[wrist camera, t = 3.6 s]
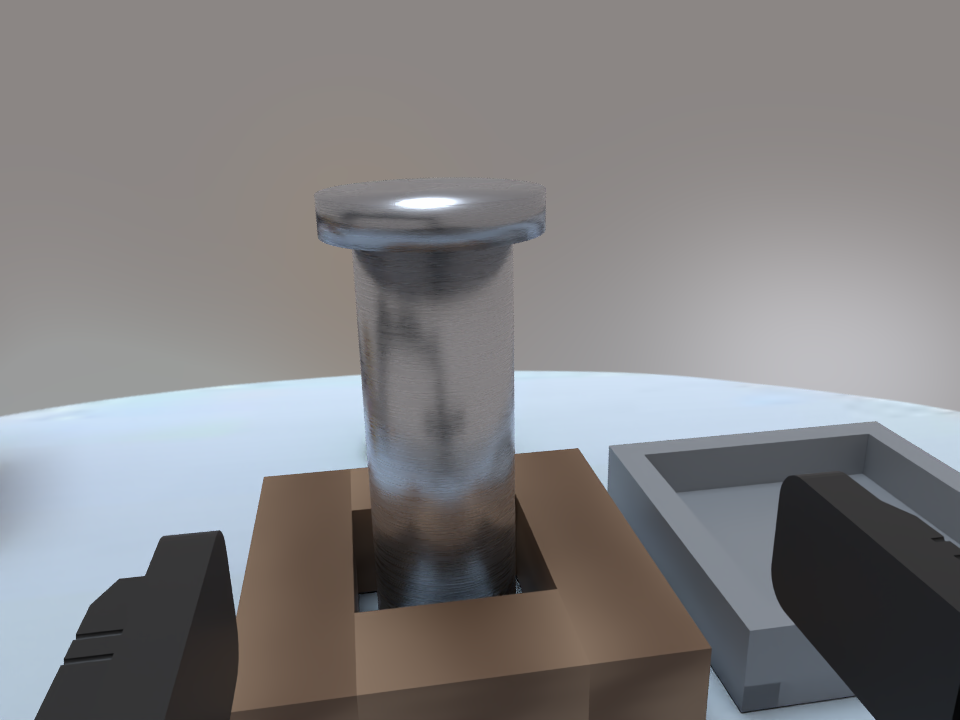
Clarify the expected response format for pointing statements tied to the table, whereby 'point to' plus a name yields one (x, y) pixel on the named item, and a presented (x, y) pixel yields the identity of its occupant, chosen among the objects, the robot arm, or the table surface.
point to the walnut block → (463, 615)
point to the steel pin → (437, 374)
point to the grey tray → (761, 536)
